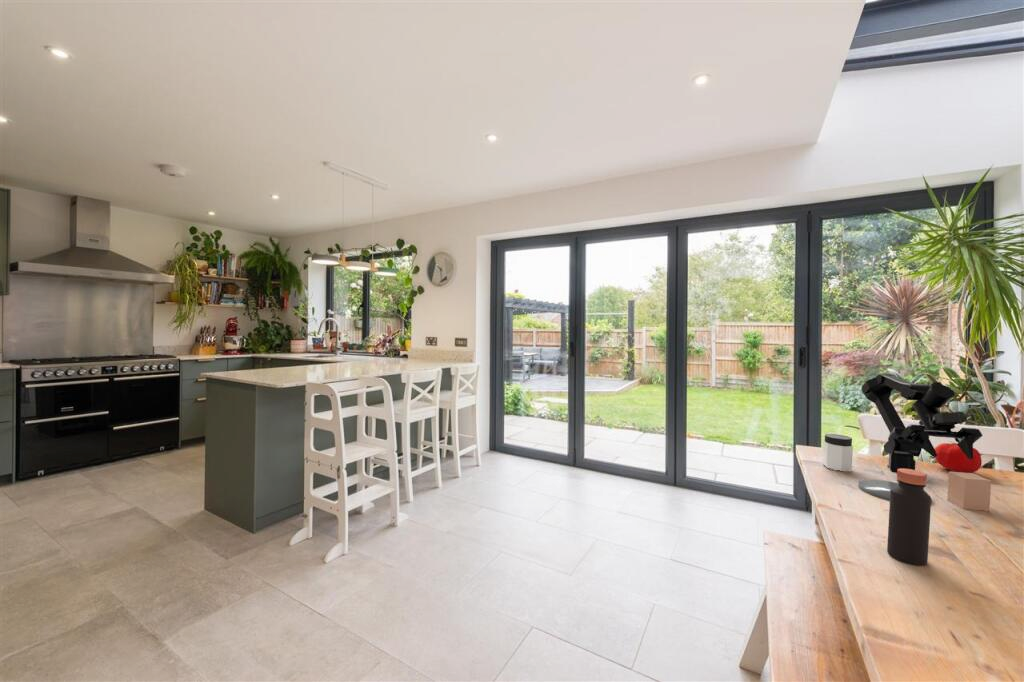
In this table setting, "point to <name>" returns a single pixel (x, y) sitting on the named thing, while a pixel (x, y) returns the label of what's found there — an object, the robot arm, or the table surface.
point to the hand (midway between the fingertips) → (953, 457)
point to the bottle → (909, 518)
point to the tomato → (957, 458)
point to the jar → (837, 452)
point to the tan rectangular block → (969, 491)
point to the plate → (877, 487)
